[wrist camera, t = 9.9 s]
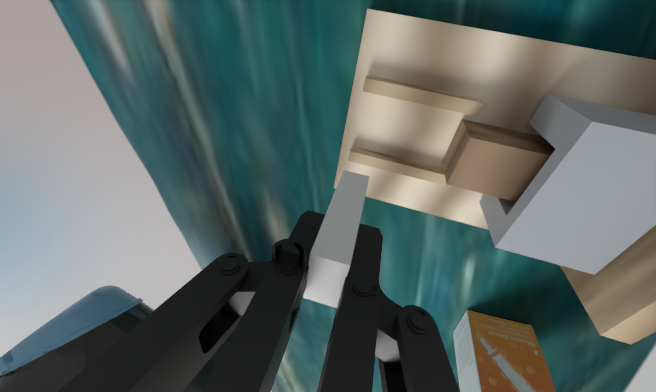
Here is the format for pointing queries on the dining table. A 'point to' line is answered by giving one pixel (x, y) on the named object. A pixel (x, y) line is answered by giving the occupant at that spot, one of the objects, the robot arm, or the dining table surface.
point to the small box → (499, 356)
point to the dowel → (494, 159)
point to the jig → (492, 109)
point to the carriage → (582, 187)
